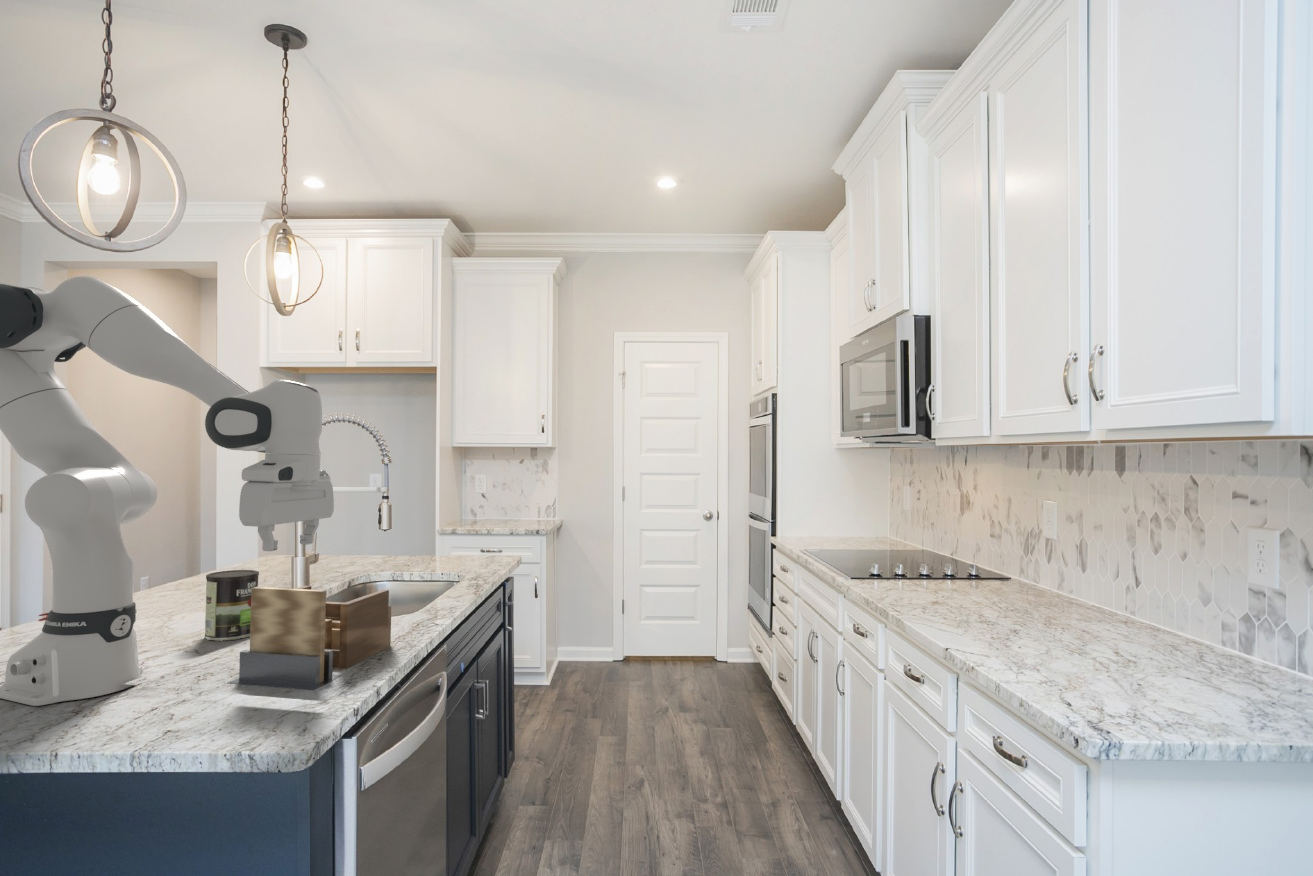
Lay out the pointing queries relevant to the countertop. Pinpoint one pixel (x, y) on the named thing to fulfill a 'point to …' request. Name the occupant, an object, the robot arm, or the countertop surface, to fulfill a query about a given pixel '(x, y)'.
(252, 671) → the stand
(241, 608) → the coffee can
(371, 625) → the board rack
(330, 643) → the small boards
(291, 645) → the cutting board
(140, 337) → the robot arm
